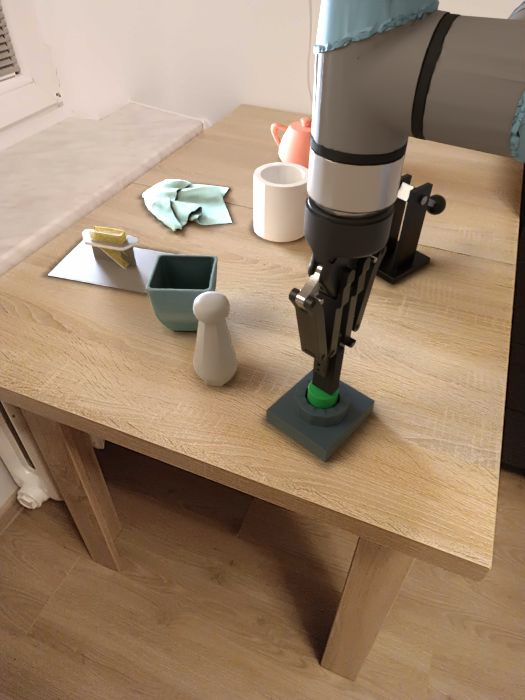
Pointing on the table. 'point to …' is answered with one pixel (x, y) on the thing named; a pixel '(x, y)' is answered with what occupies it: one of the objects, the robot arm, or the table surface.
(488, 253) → the table surface
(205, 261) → the flower pot
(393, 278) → the switch bracket
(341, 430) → the control block
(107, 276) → the platform
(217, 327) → the salt shaker
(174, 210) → the cloth
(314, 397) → the button
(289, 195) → the mug
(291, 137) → the teapot
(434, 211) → the lever
